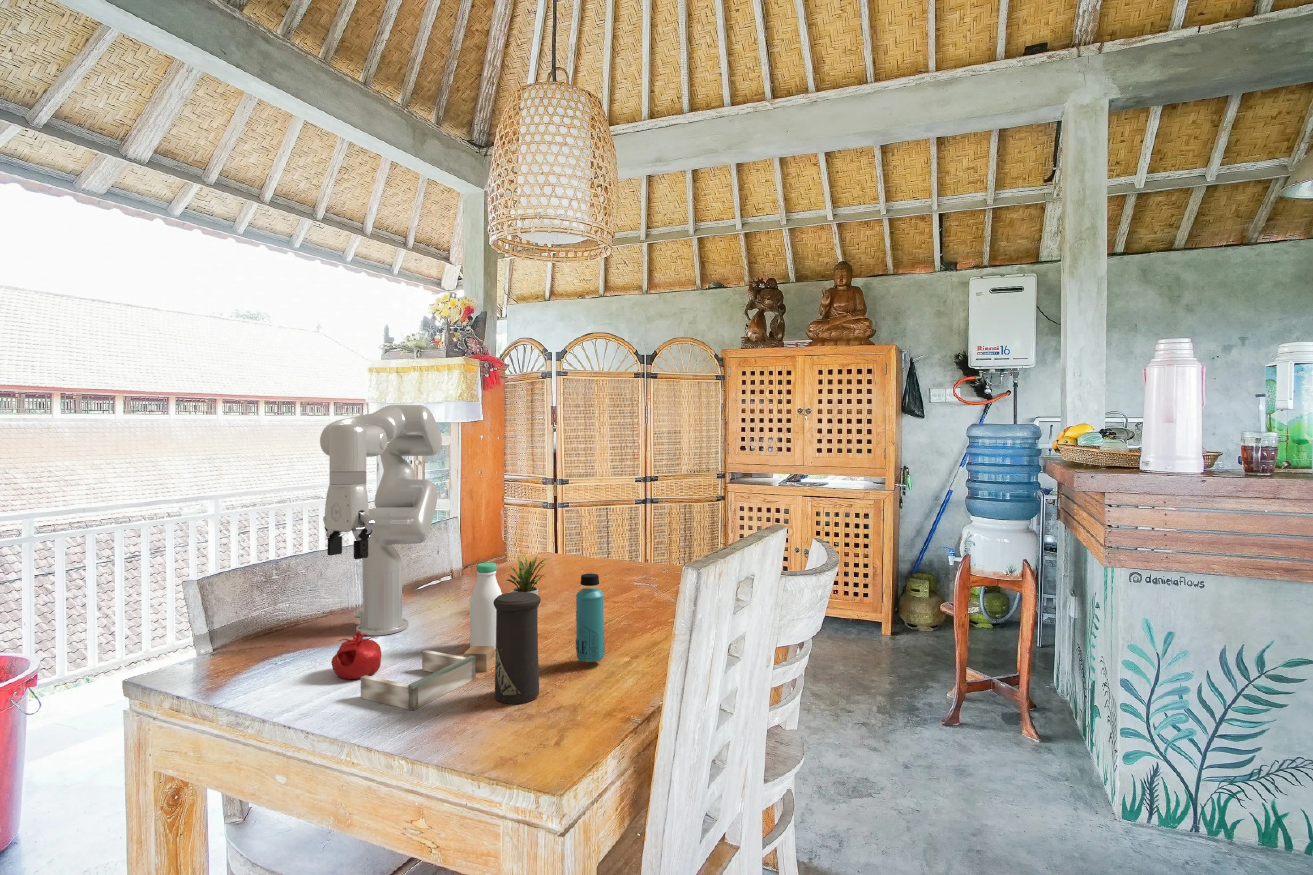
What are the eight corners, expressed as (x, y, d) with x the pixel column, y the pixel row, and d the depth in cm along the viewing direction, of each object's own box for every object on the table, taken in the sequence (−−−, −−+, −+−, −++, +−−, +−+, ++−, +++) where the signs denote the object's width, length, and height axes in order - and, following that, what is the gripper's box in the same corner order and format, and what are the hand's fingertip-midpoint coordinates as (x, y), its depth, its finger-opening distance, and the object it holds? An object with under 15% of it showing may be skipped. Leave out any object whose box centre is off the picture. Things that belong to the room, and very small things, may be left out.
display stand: (360, 697, 127) (360, 674, 127) (426, 668, 142) (426, 647, 142) (413, 710, 121) (413, 685, 121) (475, 678, 137) (475, 656, 137)
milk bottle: (494, 653, 152) (494, 567, 151) (463, 651, 153) (463, 566, 153) (508, 643, 159) (508, 561, 159) (479, 641, 161) (479, 560, 160)
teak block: (463, 671, 141) (463, 653, 141) (472, 663, 146) (472, 645, 146) (486, 672, 140) (486, 653, 140) (494, 664, 145) (494, 646, 145)
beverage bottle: (609, 660, 147) (609, 572, 147) (597, 670, 141) (597, 578, 141) (583, 657, 149) (583, 569, 149) (570, 667, 143) (570, 576, 143)
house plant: (565, 609, 189) (565, 552, 189) (532, 620, 177) (532, 560, 177) (529, 601, 197) (528, 547, 196) (494, 612, 185) (494, 555, 185)
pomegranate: (371, 663, 146) (372, 621, 146) (389, 674, 139) (390, 630, 139) (324, 673, 139) (324, 630, 139) (340, 686, 132) (341, 640, 132)
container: (497, 687, 132) (497, 589, 131) (542, 686, 132) (542, 588, 132) (490, 706, 123) (489, 600, 123) (538, 704, 124) (538, 599, 124)
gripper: (309, 479, 148) (309, 555, 147) (356, 481, 138) (355, 562, 138) (341, 478, 154) (340, 551, 154) (387, 479, 145) (386, 557, 144)
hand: (347, 556), depth 146 cm, fingers open, 9 cm apart
